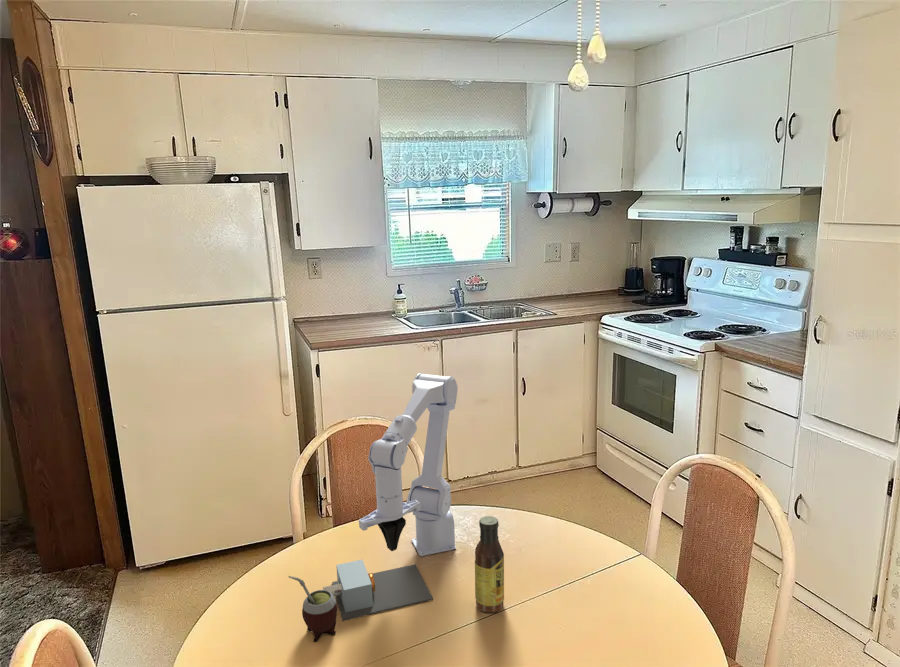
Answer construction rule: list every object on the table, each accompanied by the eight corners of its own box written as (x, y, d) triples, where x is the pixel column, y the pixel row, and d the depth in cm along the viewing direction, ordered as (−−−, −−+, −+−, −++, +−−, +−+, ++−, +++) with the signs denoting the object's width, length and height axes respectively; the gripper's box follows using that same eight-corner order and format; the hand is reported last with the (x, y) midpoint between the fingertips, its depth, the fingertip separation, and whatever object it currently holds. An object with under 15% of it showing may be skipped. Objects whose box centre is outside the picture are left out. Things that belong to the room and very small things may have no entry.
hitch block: (363, 581, 146) (362, 559, 145) (373, 607, 137) (371, 584, 136) (337, 587, 144) (336, 564, 143) (345, 614, 135) (343, 590, 134)
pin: (371, 585, 144) (370, 569, 143) (375, 595, 140) (374, 579, 139) (323, 595, 140) (321, 579, 139) (325, 606, 137) (324, 590, 136)
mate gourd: (344, 623, 132) (340, 559, 129) (327, 649, 125) (322, 581, 122) (312, 618, 134) (307, 554, 131) (293, 643, 127) (287, 576, 124)
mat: (415, 565, 152) (415, 564, 152) (433, 599, 139) (433, 598, 139) (332, 583, 146) (332, 582, 146) (342, 621, 133) (342, 619, 133)
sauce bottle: (502, 616, 133) (501, 530, 129) (473, 612, 135) (471, 527, 130) (505, 596, 140) (505, 514, 135) (477, 594, 141) (476, 512, 137)
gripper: (407, 477, 146) (410, 530, 149) (351, 495, 138) (354, 551, 141) (424, 488, 140) (426, 543, 143) (366, 507, 132) (369, 566, 135)
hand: (392, 548), depth 142 cm, fingers closed
